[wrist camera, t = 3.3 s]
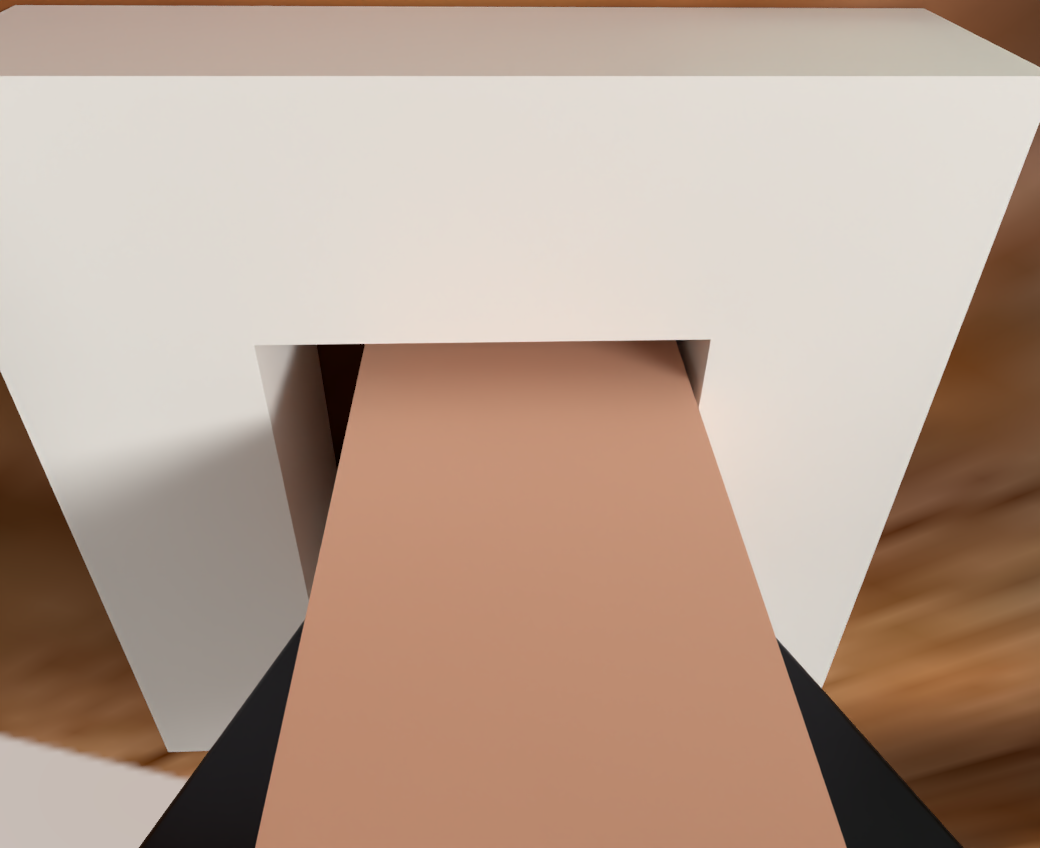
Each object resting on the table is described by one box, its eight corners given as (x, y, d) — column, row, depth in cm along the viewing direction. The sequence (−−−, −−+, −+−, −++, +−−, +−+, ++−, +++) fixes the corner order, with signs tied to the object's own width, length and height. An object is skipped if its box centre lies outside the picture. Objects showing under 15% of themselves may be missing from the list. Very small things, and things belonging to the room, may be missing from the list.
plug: (656, 281, 12) (898, 997, 5) (631, 488, 15) (768, 1168, 7) (378, 283, 12) (217, 1021, 5) (399, 491, 14) (313, 1185, 7)
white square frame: (924, 8, 10) (1056, 76, 8) (759, 599, 17) (805, 731, 15) (15, 5, 10) (-130, 75, 8) (211, 613, 17) (168, 752, 14)
